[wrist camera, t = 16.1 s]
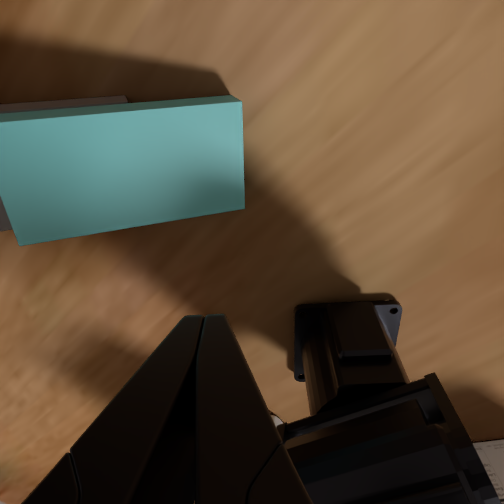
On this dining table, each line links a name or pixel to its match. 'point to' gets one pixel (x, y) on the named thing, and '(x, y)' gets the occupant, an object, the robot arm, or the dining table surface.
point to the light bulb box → (493, 463)
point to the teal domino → (120, 166)
